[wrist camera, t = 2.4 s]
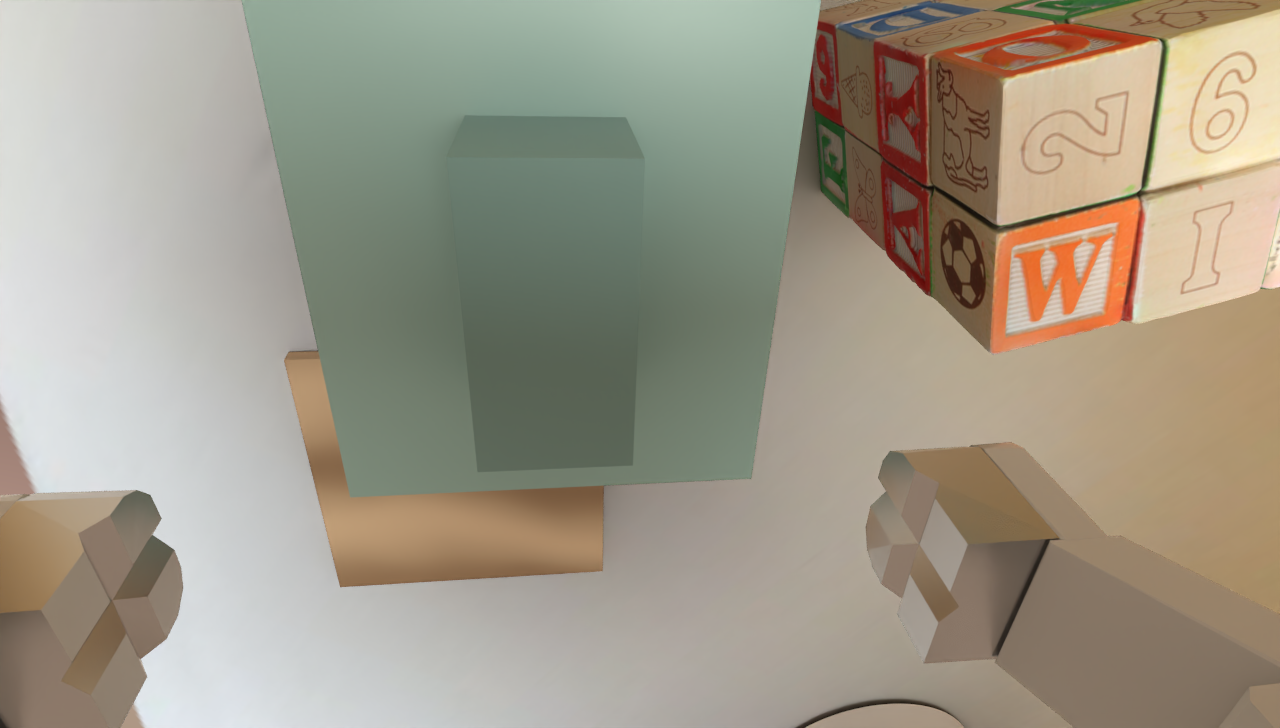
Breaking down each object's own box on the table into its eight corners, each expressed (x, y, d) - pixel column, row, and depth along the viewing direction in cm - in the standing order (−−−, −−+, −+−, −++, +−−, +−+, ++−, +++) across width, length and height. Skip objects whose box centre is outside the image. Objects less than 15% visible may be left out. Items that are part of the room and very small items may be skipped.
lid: (735, 437, 20) (784, 564, 16) (365, 452, 19) (316, 593, 15) (798, -58, 14) (902, -57, 10) (261, -82, 13) (130, -91, 9)
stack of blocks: (1443, -152, 23) (2191, -228, 13) (1381, 52, 26) (1936, 127, 16) (798, 15, 23) (1005, 76, 13) (815, 196, 27) (992, 364, 16)
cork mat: (601, 561, 35) (602, 571, 34) (343, 577, 33) (340, 586, 33) (604, 344, 29) (605, 352, 28) (288, 351, 27) (283, 359, 27)
